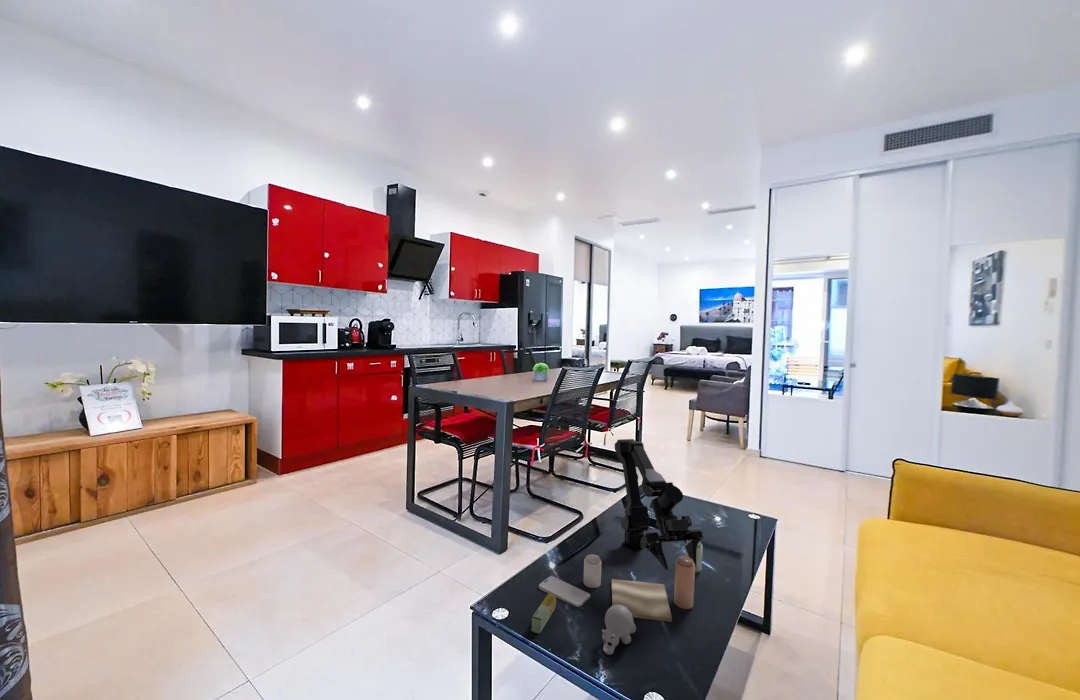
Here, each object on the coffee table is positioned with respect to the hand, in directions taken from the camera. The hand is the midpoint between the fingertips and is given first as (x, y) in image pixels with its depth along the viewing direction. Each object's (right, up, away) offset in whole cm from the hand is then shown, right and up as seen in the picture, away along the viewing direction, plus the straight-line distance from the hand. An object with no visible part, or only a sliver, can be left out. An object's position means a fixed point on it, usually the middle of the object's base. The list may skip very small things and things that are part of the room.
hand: (681, 568), depth 129 cm
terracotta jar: (0, -9, -1) cm, 10 cm away
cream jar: (-25, -8, +8) cm, 28 cm away
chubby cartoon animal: (-23, -10, -18) cm, 31 cm away
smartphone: (-35, -9, +3) cm, 36 cm away
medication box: (-41, -9, -10) cm, 43 cm away
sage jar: (+10, -9, +18) cm, 22 cm away
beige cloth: (-13, -9, -1) cm, 16 cm away
